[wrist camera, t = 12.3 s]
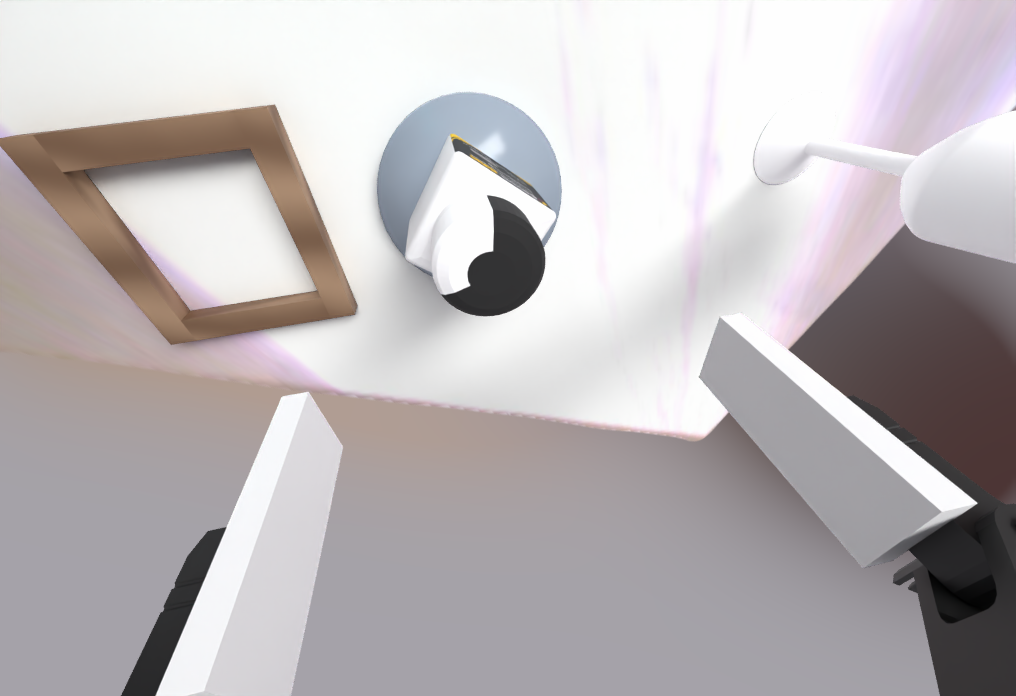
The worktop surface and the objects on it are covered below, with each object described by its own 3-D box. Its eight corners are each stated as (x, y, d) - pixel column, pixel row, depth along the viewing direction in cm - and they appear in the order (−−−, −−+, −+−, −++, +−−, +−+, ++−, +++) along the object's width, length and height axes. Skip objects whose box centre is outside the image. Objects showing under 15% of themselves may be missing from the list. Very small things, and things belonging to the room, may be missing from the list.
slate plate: (349, 105, 24) (347, 106, 23) (558, 80, 25) (562, 80, 24) (406, 292, 32) (406, 296, 32) (558, 267, 33) (561, 271, 33)
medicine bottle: (534, 186, 28) (586, 247, 19) (487, 262, 31) (512, 347, 22) (450, 130, 25) (462, 170, 15) (407, 222, 28) (397, 301, 19)
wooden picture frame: (17, 135, 22) (-6, 139, 21) (274, 104, 23) (266, 107, 22) (180, 334, 31) (171, 344, 30) (357, 305, 32) (354, 314, 31)
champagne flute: (777, 199, 33) (1229, 376, 14) (738, 156, 30) (1245, 309, 11) (848, 126, 30) (1532, 231, 11) (812, 71, 27) (1664, 87, 8)
